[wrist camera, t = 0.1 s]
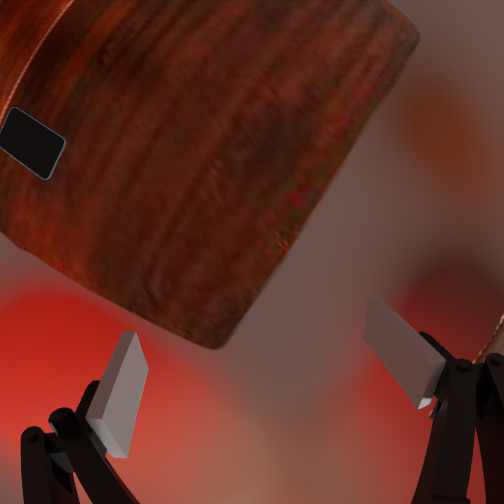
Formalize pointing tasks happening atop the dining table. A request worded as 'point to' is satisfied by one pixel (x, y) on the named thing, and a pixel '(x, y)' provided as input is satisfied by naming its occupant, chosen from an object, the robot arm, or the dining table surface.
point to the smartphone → (31, 142)
